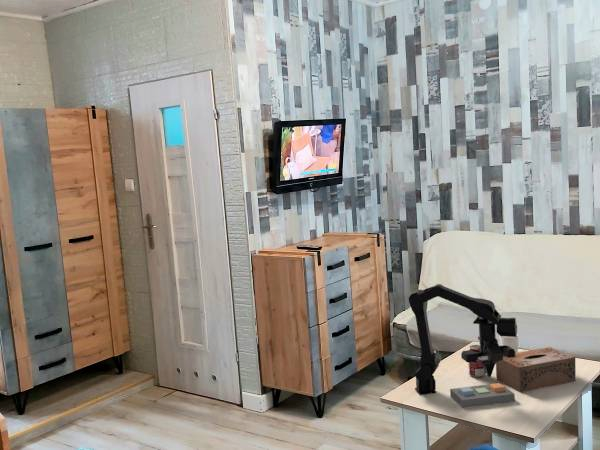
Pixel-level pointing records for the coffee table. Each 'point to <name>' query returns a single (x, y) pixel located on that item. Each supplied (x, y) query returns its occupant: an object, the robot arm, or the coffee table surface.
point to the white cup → (510, 342)
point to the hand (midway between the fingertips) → (489, 376)
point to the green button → (481, 390)
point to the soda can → (476, 365)
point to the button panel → (482, 397)
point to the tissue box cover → (536, 369)
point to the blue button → (466, 391)
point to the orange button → (496, 387)
